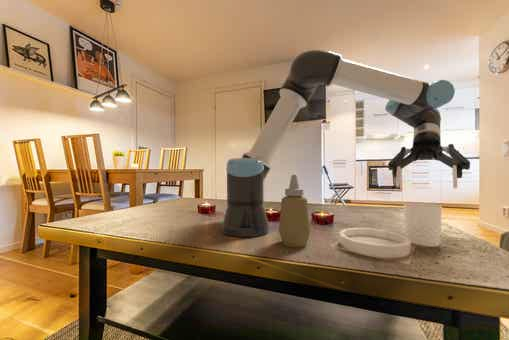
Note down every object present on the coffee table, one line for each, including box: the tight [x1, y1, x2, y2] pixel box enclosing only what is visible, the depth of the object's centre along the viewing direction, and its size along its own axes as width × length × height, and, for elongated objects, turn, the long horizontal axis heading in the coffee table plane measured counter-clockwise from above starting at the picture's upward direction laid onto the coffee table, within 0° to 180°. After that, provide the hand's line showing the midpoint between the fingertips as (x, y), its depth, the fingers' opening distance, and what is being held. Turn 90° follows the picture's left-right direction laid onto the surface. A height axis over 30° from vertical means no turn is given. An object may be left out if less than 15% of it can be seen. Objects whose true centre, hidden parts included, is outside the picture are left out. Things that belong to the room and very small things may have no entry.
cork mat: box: [329, 239, 417, 266], centre depth 54 cm, size 16×14×1 cm
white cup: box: [403, 202, 443, 247], centre depth 57 cm, size 8×8×10 cm
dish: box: [338, 227, 412, 259], centre depth 54 cm, size 15×15×3 cm
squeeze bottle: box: [278, 174, 311, 248], centre depth 57 cm, size 8×8×18 cm
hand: (424, 184), depth 65 cm, fingers open, 13 cm apart
